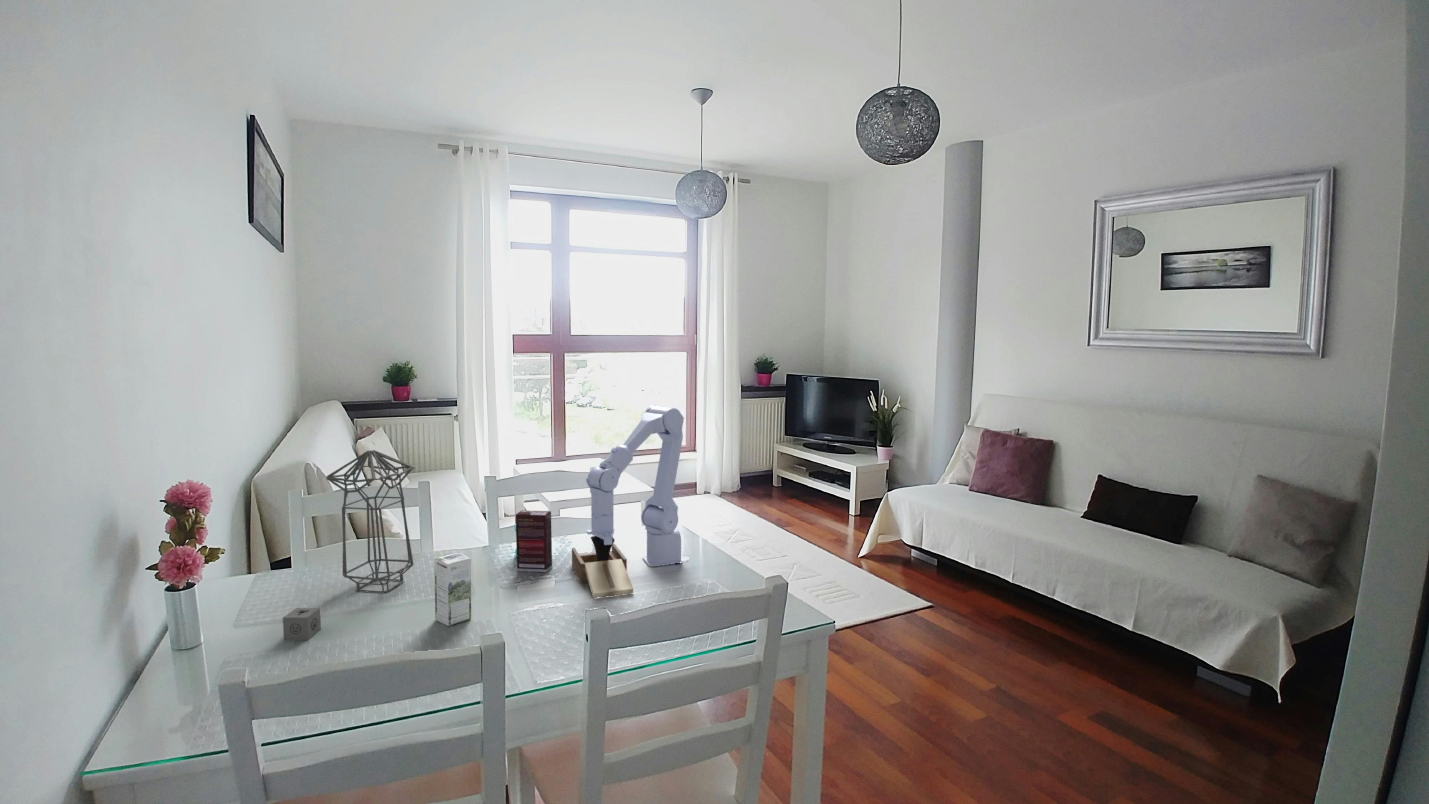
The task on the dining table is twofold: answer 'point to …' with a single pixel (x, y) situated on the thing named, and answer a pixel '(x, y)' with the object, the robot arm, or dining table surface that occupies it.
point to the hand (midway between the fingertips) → (602, 563)
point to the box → (580, 559)
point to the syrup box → (452, 589)
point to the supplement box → (534, 541)
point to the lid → (608, 578)
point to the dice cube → (301, 624)
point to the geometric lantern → (356, 467)
